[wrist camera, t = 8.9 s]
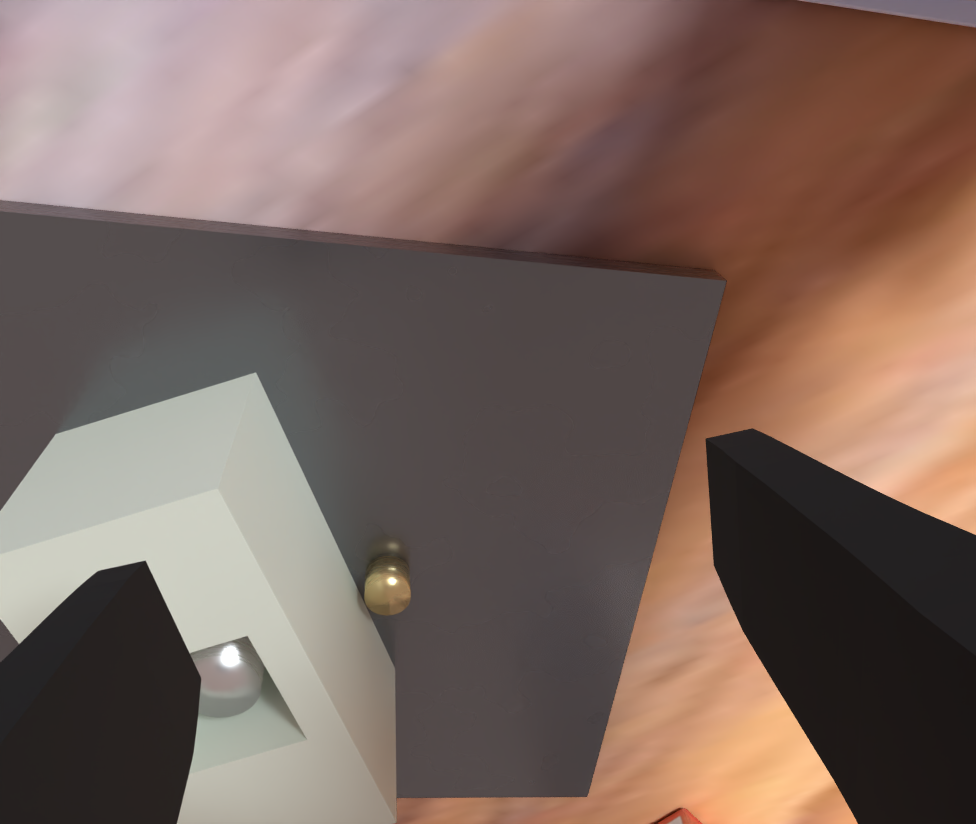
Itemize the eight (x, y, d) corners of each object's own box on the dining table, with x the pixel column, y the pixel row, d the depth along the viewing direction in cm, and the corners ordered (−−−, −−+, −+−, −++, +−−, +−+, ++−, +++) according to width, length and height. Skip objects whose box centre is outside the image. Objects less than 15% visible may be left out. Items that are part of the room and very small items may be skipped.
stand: (714, 270, 20) (804, 352, 16) (582, 776, 28) (617, 923, 24) (-303, 170, 17) (-543, 239, 13) (-126, 777, 25) (-235, 948, 21)
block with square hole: (395, 668, 24) (396, 822, 20) (232, 716, 24) (198, 879, 20) (255, 372, 20) (218, 488, 15) (55, 434, 20) (-41, 566, 15)
